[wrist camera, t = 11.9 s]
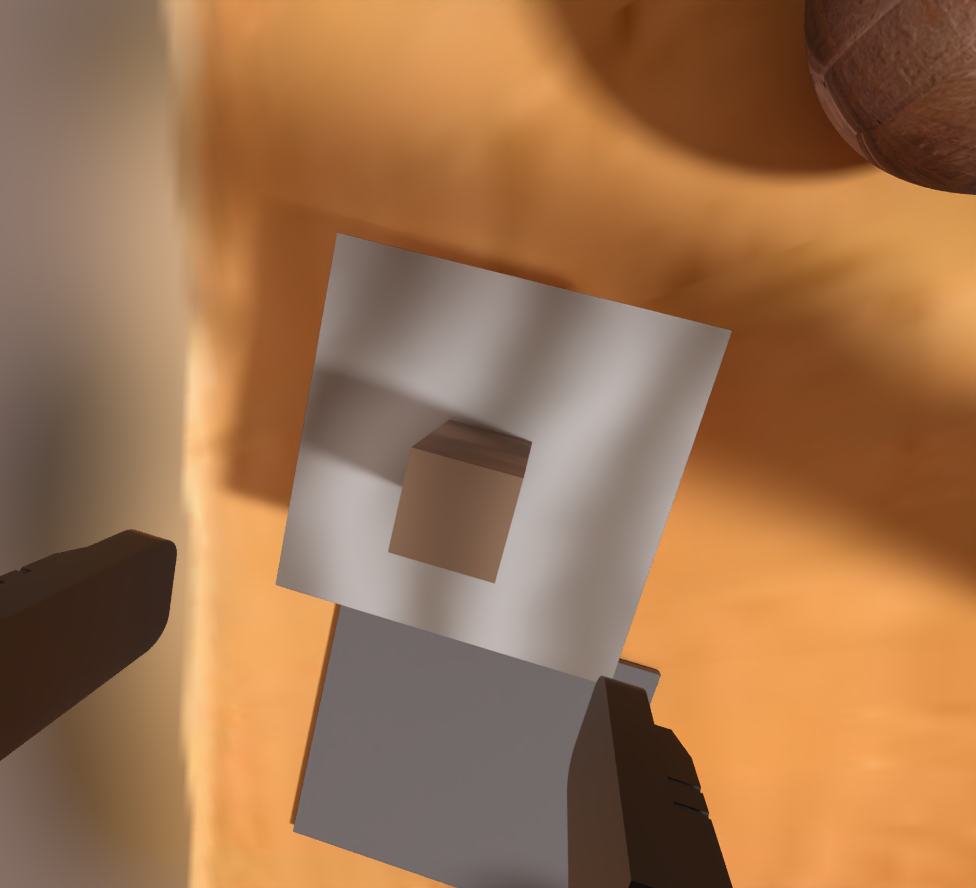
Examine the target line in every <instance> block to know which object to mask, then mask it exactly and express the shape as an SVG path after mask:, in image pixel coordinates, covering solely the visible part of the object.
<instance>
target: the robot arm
mask: <svg viewBox="0 0 976 888" xmlns="http://www.w3.org/2000/svg"><path fill="white" fill-rule="evenodd" d="M176 557H177V549H176V546H175V544H174V543H173V542H171V541H169V540H166V539H163V538H160V537H156V536H153V535H150V534H147V533H143V532H140V531H137V530H132V529H131V530H126V531H123V532H121V533H119V534H116V535H114V536H112V537H109V538H107V539H105V540H102V541H100V542H98V543H95V544H93V545H91V546H88V547H85V548H80V549H75V550H71V551H66V552H61V553H56V554H53V555H50V556H48V557H45V558H43V559H41V560H38V561H36V562H33V563H31V564H29V565H26V566H24V567H22V568H21V570H20V571H17V570H14V571H12V572H9V573H7V574H5V575H2V576H0V761H1V760H2V759H3V758H5V757H6V756H7V755H9V754H10V753H11V752H12V751H14V750H15V749H17V748H18V747H19V746H21V745H22V744H24V743H25V742H26V741H27V740H29V739H30V738H32V737H33V736H34V735H36V734H37V733H38V732H40V731H41V730H42V729H43V728H45V727H46V726H48V725H49V724H50V723H52V722H53V721H54V720H56V719H57V718H58V717H60V716H61V715H62V714H64V713H65V712H66V711H68V710H69V709H70V708H72V707H73V706H74V705H76V704H77V703H78V702H80V701H81V700H82V699H83V698H85V697H87V696H88V695H89V694H91V693H92V692H93V691H95V690H96V689H97V688H98V687H100V686H101V685H102V684H104V683H105V682H106V681H108V680H109V679H111V678H112V677H113V676H115V675H116V674H117V673H119V672H120V671H121V670H123V669H124V668H125V667H127V666H128V665H129V664H131V663H132V662H133V661H135V660H136V659H137V658H139V657H140V656H141V655H143V654H144V653H145V652H147V651H148V650H149V649H150V648H151V647H152V646H153V645H154V644H155V643H156V642H157V640H158V639H159V637H160V636H161V634H162V632H163V630H164V628H165V626H166V624H167V621H168V617H169V610H170V603H171V595H172V588H173V580H174V572H175V565H176ZM700 789H701V786H700V783H699V780H698V777H697V773H696V770H695V767H694V764H693V761H692V758H691V756H690V755H689V754H688V752H687V751H686V749H685V748H684V747H683V745H682V744H681V743H680V741H679V740H678V738H677V737H676V736H675V734H674V733H673V731H672V730H670V729H667V728H664V727H661V726H658V725H655V724H654V721H653V717H652V713H651V709H650V705H649V701H648V697H647V693H646V691H645V689H644V688H641V687H638V686H635V685H631V684H628V683H625V682H622V681H619V680H615V679H612V678H609V677H606V676H600V677H599V678H598V680H597V682H596V684H595V687H594V690H593V693H592V696H591V699H590V702H589V705H588V708H587V711H586V714H585V716H584V719H583V722H582V725H581V728H580V731H579V734H578V737H577V740H576V743H575V746H574V749H573V753H572V757H571V761H570V766H569V772H568V781H567V830H568V888H733V887H732V884H731V881H730V878H729V875H728V871H727V868H726V865H725V862H724V859H723V856H722V852H721V849H720V846H719V843H718V840H717V837H716V834H715V830H714V827H713V824H712V821H711V819H709V818H708V815H709V811H708V808H707V805H706V802H705V799H704V796H703V793H700Z"/></svg>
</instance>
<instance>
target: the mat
mask: <svg viewBox="0 0 976 888" xmlns="http://www.w3.org/2000/svg"><path fill="white" fill-rule="evenodd" d="M660 676H661V675H660V672H659V671H657V670H654V669H650V668H647V667H644V666H641V665H637V664H634V663H631V662H627V661H624V660H621V659H619V661H618V664H617V667H616V670H615V673H614V675H613V678H612V679H615V680H619V681H622V682H625V683H628V684H631V685H635V686H638V687H641V688H644V689H645V691H646V693H647V697H648V701H649V705H650V703H651V700H652V697H653V695H654V692H655V689H656V686H657V684H658V681H659V678H660ZM595 684H596V682H594V681H591V680H587V679H584V678H581V677H578V676H574V675H571V674H568V673H564V672H561V671H558V670H554V669H551V668H548V667H545V666H541V665H538V664H535V663H531V662H528V661H525V660H521V659H518V658H515V657H512V656H508V655H505V654H502V653H498V652H495V651H492V650H488V649H485V648H482V647H479V646H475V645H472V644H469V643H465V642H462V641H459V640H455V639H452V638H449V637H446V636H442V635H439V634H436V633H432V632H429V631H426V630H422V629H419V628H416V627H412V626H409V625H406V624H403V623H399V622H396V621H393V620H389V619H386V618H383V617H379V616H376V615H373V614H370V613H366V612H363V611H360V610H356V609H353V608H350V607H346V606H343V605H341V607H340V611H339V616H338V621H337V625H336V630H335V635H334V640H333V644H332V649H331V654H330V659H329V663H328V668H327V673H326V678H325V682H324V687H323V692H322V696H321V701H320V706H319V711H318V715H317V720H316V725H315V730H314V734H313V739H312V744H311V749H310V753H309V758H308V763H307V767H306V772H305V777H304V782H303V786H302V791H301V796H300V801H299V805H298V810H297V815H296V820H295V824H294V829H293V832H296V833H299V834H302V835H305V836H308V837H311V838H314V839H316V840H319V841H322V842H325V843H328V844H331V845H334V846H337V847H340V848H343V849H346V850H349V851H352V852H354V853H357V854H360V855H363V856H366V857H369V858H372V859H375V860H378V861H381V862H384V863H387V864H389V865H392V866H395V867H398V868H401V869H404V870H407V871H410V872H413V873H416V874H419V875H422V876H425V877H427V878H430V879H433V880H436V881H439V882H442V883H445V884H448V885H451V886H454V887H457V888H568V830H567V781H568V772H569V766H570V761H571V757H572V753H573V749H574V746H575V743H576V740H577V737H578V734H579V731H580V728H581V725H582V722H583V719H584V716H585V714H586V711H587V708H588V705H589V702H590V699H591V696H592V693H593V690H594V687H595Z"/></svg>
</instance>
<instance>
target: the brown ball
mask: <svg viewBox="0 0 976 888" xmlns="http://www.w3.org/2000/svg"><path fill="white" fill-rule="evenodd" d="M805 46H806V54H807V61H808V66H809V70H810V75H811V79H812V82H813V85H814V88H815V91H816V94H817V96H818V99H819V101H820V103H821V106H822V108H823V109H824V111H825V113H826V115H827V117H828V119H829V120H830V122H831V123H832V125H833V126H834V128H835V129H836V130H837V132H838V133H839V134H840V136H841V137H842V138H843V139H844V140H845V141H846V142H847V143H848V144H849V145H850V146H851V147H852V148H853V149H854V150H855V151H856V152H857V153H858V154H859V155H861V156H862V157H863V158H865V159H866V160H867V161H869V162H870V163H872V164H873V165H875V166H876V167H878V168H880V169H881V170H883V171H885V172H887V173H889V174H891V175H893V176H895V177H897V178H899V179H902V180H905V181H907V182H910V183H913V184H916V185H919V186H923V187H927V188H931V189H935V190H940V191H946V192H952V193H960V194H972V195H976V0H806V1H805Z"/></svg>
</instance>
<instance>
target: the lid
mask: <svg viewBox="0 0 976 888" xmlns="http://www.w3.org/2000/svg"><path fill="white" fill-rule="evenodd" d="M731 333H732V330H728V329H724V328H720V327H716V326H712V325H708V324H704V323H700V322H696V321H692V320H688V319H684V318H680V317H675V316H671V315H667V314H663V313H659V312H655V311H651V310H647V309H643V308H639V307H635V306H631V305H627V304H623V303H619V302H615V301H611V300H607V299H603V298H599V297H595V296H591V295H587V294H583V293H579V292H575V291H571V290H567V289H563V288H558V287H554V286H550V285H546V284H542V283H538V282H534V281H530V280H526V279H522V278H518V277H514V276H510V275H506V274H502V273H498V272H494V271H490V270H486V269H482V268H478V267H474V266H470V265H466V264H462V263H458V262H454V261H450V260H446V259H442V258H437V257H433V256H429V255H425V254H421V253H417V252H413V251H409V250H405V249H401V248H397V247H393V246H389V245H385V244H381V243H377V242H373V241H369V240H365V239H361V238H357V237H353V236H349V235H345V234H341V233H337V237H336V242H335V248H334V254H333V259H332V265H331V271H330V277H329V282H328V288H327V294H326V299H325V305H324V311H323V317H322V322H321V328H320V334H319V340H318V345H317V351H316V357H315V362H314V368H313V374H312V380H311V385H310V391H309V397H308V402H307V408H306V414H305V420H304V425H303V431H302V437H301V442H300V448H299V454H298V460H297V465H296V471H295V477H294V482H293V488H292V494H291V500H290V505H289V511H288V517H287V523H286V528H285V534H284V540H283V545H282V551H281V557H280V563H279V568H278V574H277V580H276V585H277V586H280V587H284V588H287V589H290V590H294V591H297V592H300V593H304V594H307V595H310V596H313V597H317V598H320V599H323V600H327V601H330V602H333V603H337V604H340V605H343V606H346V607H350V608H353V609H356V610H360V611H363V612H366V613H370V614H373V615H376V616H379V617H383V618H386V619H389V620H393V621H396V622H399V623H403V624H406V625H409V626H412V627H416V628H419V629H422V630H426V631H429V632H432V633H436V634H439V635H442V636H446V637H449V638H452V639H455V640H459V641H462V642H465V643H469V644H472V645H475V646H479V647H482V648H485V649H488V650H492V651H495V652H498V653H502V654H505V655H508V656H512V657H515V658H518V659H521V660H525V661H528V662H531V663H535V664H538V665H541V666H545V667H548V668H551V669H554V670H558V671H561V672H564V673H568V674H571V675H574V676H578V677H581V678H584V679H587V680H591V681H594V682H597V680H598V678H599V677H600V676H606V677H609V678H613V675H614V673H615V670H616V667H617V664H618V661H619V658H620V655H621V652H622V649H623V646H624V644H625V641H626V638H627V635H628V632H629V629H630V626H631V623H632V620H633V617H634V614H635V612H636V609H637V606H638V603H639V600H640V597H641V594H642V591H643V588H644V585H645V582H646V580H647V577H648V574H649V571H650V568H651V565H652V562H653V559H654V556H655V553H656V551H657V548H658V545H659V542H660V539H661V536H662V533H663V530H664V527H665V524H666V521H667V519H668V516H669V513H670V510H671V507H672V504H673V501H674V498H675V495H676V492H677V489H678V487H679V484H680V481H681V478H682V475H683V472H684V469H685V466H686V463H687V460H688V458H689V455H690V452H691V449H692V446H693V443H694V440H695V437H696V434H697V431H698V428H699V426H700V423H701V420H702V417H703V414H704V411H705V408H706V405H707V402H708V399H709V396H710V394H711V391H712V388H713V385H714V382H715V379H716V376H717V373H718V370H719V367H720V365H721V362H722V359H723V356H724V353H725V350H726V347H727V344H728V341H729V338H730V335H731Z"/></svg>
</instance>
